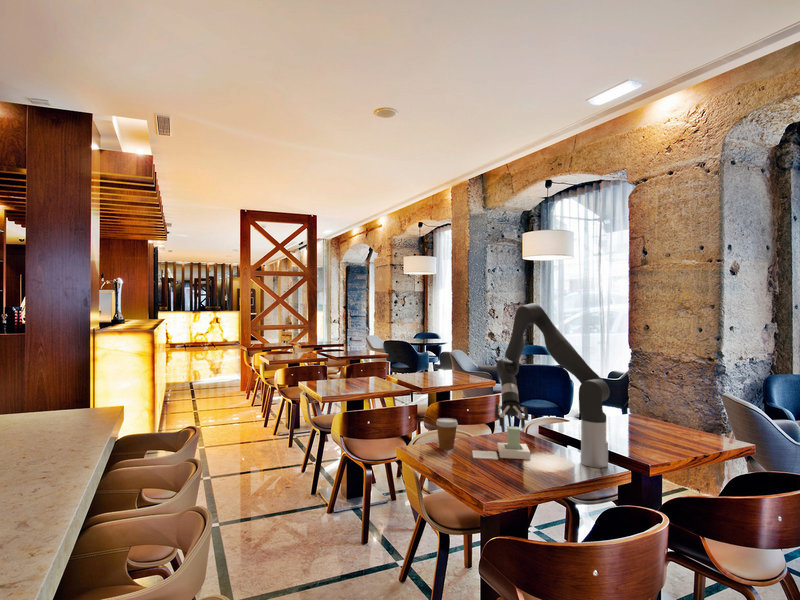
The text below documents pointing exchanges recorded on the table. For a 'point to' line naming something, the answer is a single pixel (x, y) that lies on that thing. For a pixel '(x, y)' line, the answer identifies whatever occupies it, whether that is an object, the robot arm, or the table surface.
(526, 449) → the pocket holder
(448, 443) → the disposable coffee cup
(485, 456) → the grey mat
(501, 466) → the table surface
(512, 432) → the sage block
